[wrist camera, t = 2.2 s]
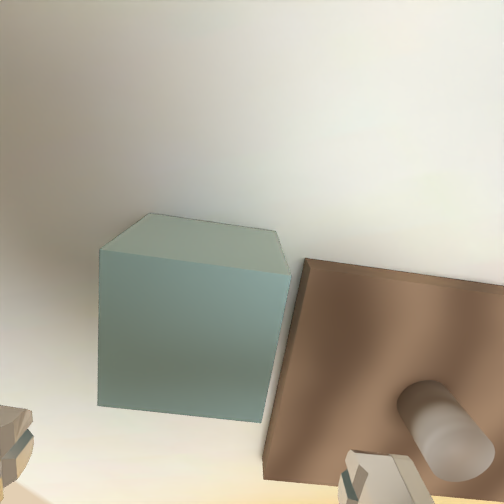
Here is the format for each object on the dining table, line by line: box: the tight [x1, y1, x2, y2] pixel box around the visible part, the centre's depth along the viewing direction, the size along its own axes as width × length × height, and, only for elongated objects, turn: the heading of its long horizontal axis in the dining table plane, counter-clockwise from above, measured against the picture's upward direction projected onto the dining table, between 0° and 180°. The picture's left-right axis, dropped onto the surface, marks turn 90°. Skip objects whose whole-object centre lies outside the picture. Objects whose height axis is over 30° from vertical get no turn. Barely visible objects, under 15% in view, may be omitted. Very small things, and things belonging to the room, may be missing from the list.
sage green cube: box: [97, 213, 292, 423], centre depth 15 cm, size 6×6×6 cm
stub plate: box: [262, 258, 504, 502], centre depth 18 cm, size 16×14×5 cm
